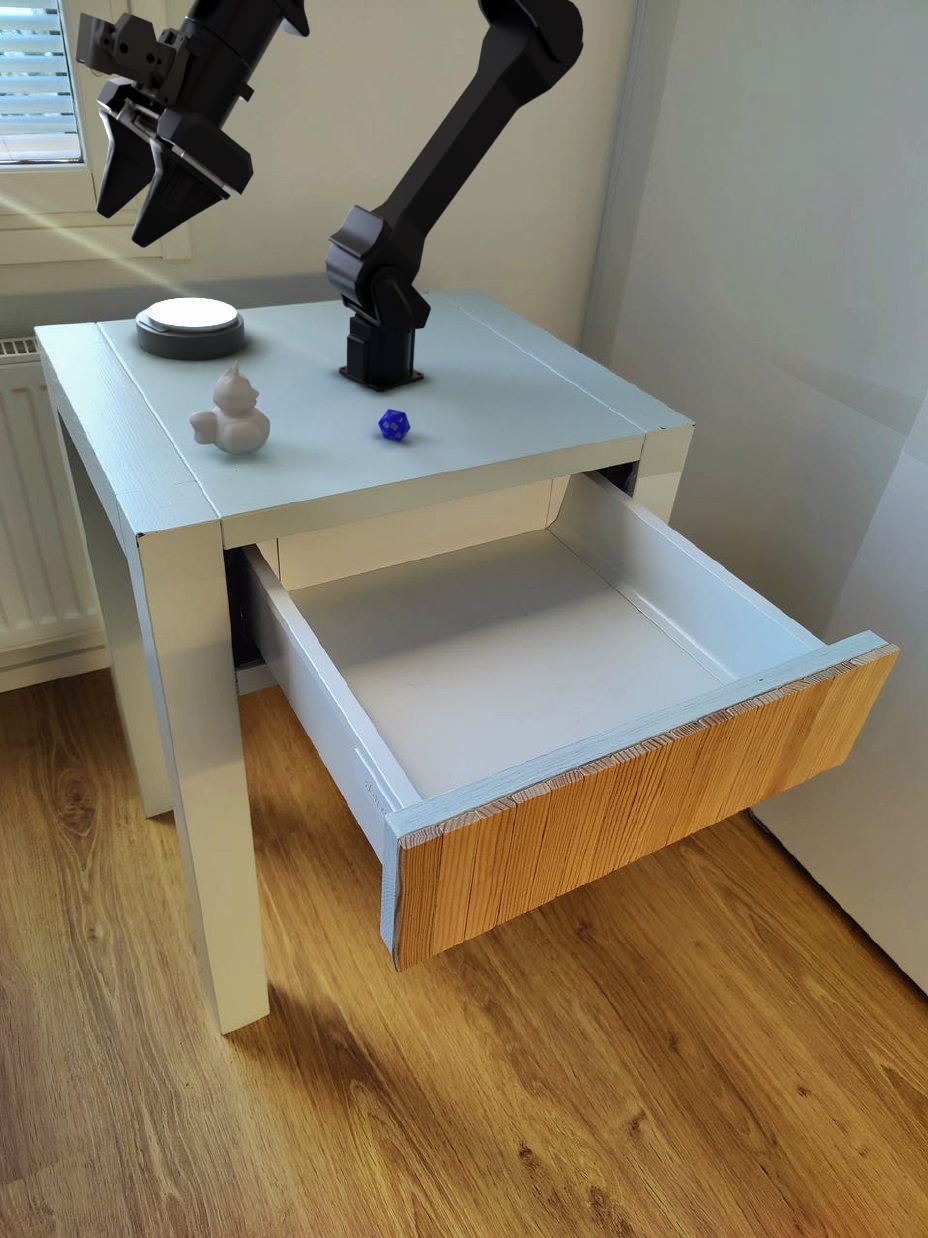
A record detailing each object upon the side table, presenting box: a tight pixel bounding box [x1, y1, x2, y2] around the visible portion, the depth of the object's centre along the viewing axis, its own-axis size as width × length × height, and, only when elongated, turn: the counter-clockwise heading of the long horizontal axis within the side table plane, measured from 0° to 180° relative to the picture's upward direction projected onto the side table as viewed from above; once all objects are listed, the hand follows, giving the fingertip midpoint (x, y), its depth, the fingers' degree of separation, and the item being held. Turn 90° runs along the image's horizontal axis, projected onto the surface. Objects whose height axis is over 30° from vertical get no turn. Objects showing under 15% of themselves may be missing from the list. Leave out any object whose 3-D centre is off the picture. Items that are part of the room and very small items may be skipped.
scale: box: [135, 297, 246, 361], centre depth 92 cm, size 11×11×3 cm
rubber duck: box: [188, 360, 271, 456], centre depth 71 cm, size 5×7×8 cm
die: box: [377, 408, 411, 442], centre depth 78 cm, size 3×3×3 cm
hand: (118, 228), depth 69 cm, fingers open, 9 cm apart
